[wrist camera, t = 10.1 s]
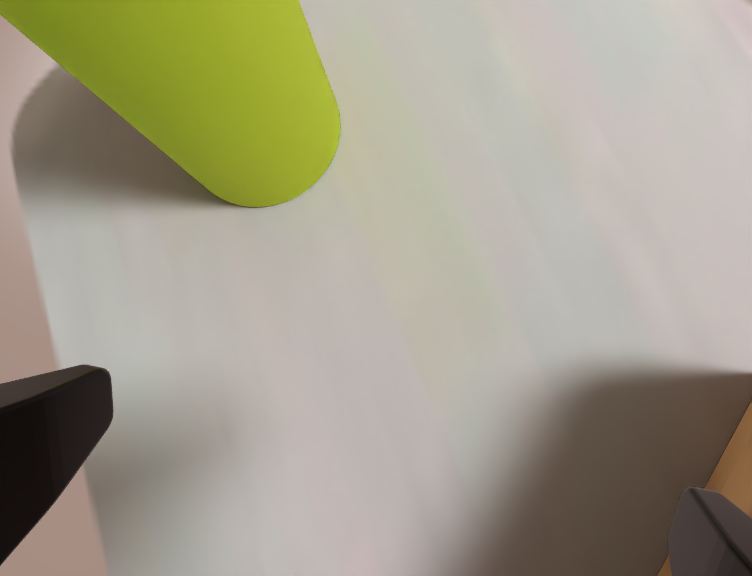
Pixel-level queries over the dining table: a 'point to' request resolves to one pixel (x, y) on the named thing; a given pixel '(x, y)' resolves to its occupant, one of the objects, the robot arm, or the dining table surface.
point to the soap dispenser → (203, 84)
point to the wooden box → (732, 472)
